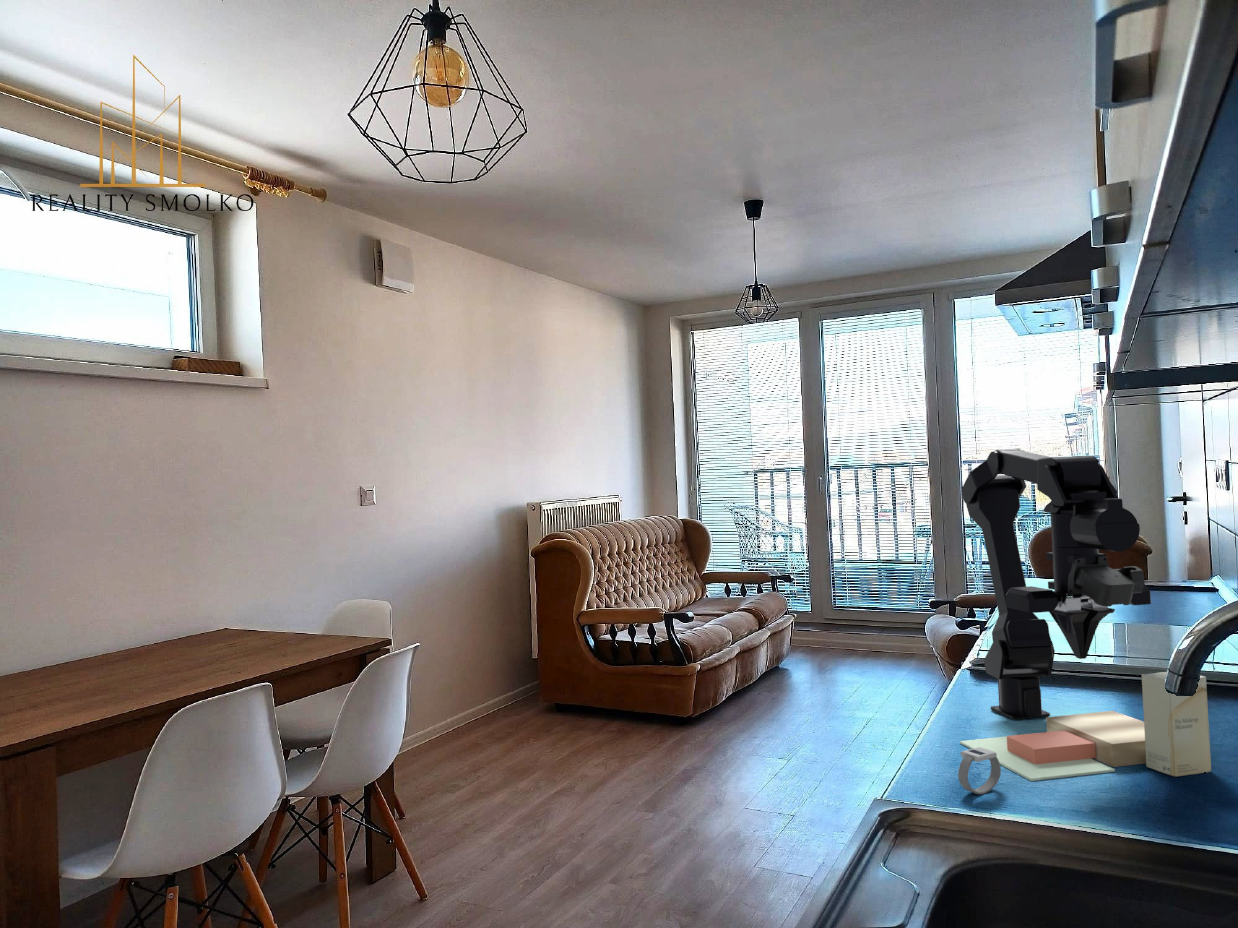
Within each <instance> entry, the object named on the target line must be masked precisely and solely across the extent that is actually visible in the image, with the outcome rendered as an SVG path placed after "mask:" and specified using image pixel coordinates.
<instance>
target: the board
mask: <svg viewBox="0 0 1238 928" xmlns="http://www.w3.org/2000/svg"><path fill="white" fill-rule="evenodd" d="M1045 720H1046V721H1045V722H1046V724H1045V725H1046V732H1053V731H1063V730H1065V731H1068V732H1070V733H1072V734H1075V735H1077V736H1079V737H1082V738H1084V739H1087V740H1089V741H1091V742H1094V743H1095V753H1096V758H1093V760H1095V761H1097V762H1100V763H1102V764H1104V765H1106V766H1109V767H1111V768H1112V767H1113V768H1116V767H1117V768H1118V767H1125V766H1132V765H1134V766H1135V765H1142V764H1143V765H1144V764H1145V765H1146V750H1145V730H1144V720H1140V719H1137V718H1134V717H1131V716H1129V715H1125V714H1124V713H1120V712H1117V711H1115V710H1108V711H1107V710H1106V711H1097V712H1089V713H1087V712H1086V713H1078V714H1068V715H1067V714H1066V715H1056V716H1048V717H1046V718H1045Z"/></svg>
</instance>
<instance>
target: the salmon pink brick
mask: <svg viewBox="0 0 1238 928" xmlns="http://www.w3.org/2000/svg"><path fill="white" fill-rule="evenodd" d="M1006 736H1007V750H1008V751H1010V752H1012V753H1014V754H1016V755H1017V756H1019V757H1021V758H1023V759H1025V760H1027V761H1029V762H1031V763H1033V764H1043V763H1053V762H1062V761H1072V760H1081V759H1094V758H1096V753H1095V743H1094V742H1091V741H1089V740H1087V739H1084V738H1082V737H1079V736H1077V735H1075V734H1072V733H1070V732H1068V731H1065V730H1063V731H1053V732H1047V731H1045V732H1044V731H1043V732H1036V733H1033V732H1032V733H1025V734H1022V733H1021V734H1015V735H1014V734H1013V735H1006Z"/></svg>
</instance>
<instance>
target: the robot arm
mask: <svg viewBox="0 0 1238 928" xmlns="http://www.w3.org/2000/svg"><path fill="white" fill-rule="evenodd" d="M1026 482H1029V483H1034V484H1036V485H1037V486H1036V489H1037V490H1038V491H1039V492H1040V493H1042V494H1043V495H1045V496H1046V497H1048V498H1049V499H1050V501H1049V503H1047V504H1046V505H1045V506H1044V509H1043V512H1044V513H1045V514H1050V515H1049V516H1050V530H1051V533H1050V534H1051V549H1052V551H1050V552H1046V554H1045V555H1046V560H1047V561H1052V570H1053V580H1052V581H1047V588H1043V587H1038V586H1027V583H1026V578H1025V573H1024V569H1023V564H1022V559H1021V556H1020V550H1019V546H1018V541H1017V537H1016V531H1015V526H1014V525H1015V524H1014V522H1015V520H1016V517H1017V515H1018V513H1019V511H1020V508H1021V503H1020V501H1021V500H1020V498H1021V496H1022V495H1023V493H1024V491H1025V490H1026V488H1027V484H1026ZM961 490H962V491H961V495H962V500H963V502H964V503H965V506H966V509H967V512H968V515H969V517H970V518H971V519H972V520H973V522H974V523H975V524H976V525H977V526H978V527H979V528H980V529H981V531H982V535H983V539H984V540H983V541H984V545H985V550H986V556H987V560H988V565H989V569H990V570H989V571H990V575H991V581H992V585H993V591H994V596H995V601H996V605H997V612H998V617H997V619H996V622H995V624H994V626H993V629H992V631H991V638H992V643H991V645H990V647H989V649H988V651H987V653H986V655H985V657H984V659H983V663H984V669H985V673H986V674H988V675H989V676H992V677H994V678H996V679H997V687H998V688H997V691H998V705H993V706H992V705H991V706H990V710H991V711H994V712H995V713H998V714H1000V715H1002V716H1005V717H1007V718H1009V719H1012V720H1017V721H1018V720H1025V719H1026V720H1027V719H1034V718H1035V719H1036V718H1045V717H1051V713H1050V712H1049V711H1046V710H1043V705H1042V690H1041V684H1040V681H1041V680H1040V678H1041V677H1045V678H1051V677H1052V671H1053V667H1054V666H1053V665H1054V659H1055V658H1054V657H1055V652H1056V651H1055V647H1054V643H1053V641H1052V638H1051V633H1050V629H1049V623H1048V621H1047V620H1046V619H1044V618H1039V617H1038V616H1037V615H1036V613H1049V615H1051V617H1052V619H1053V620H1054V621H1055V623H1056V625H1057V627H1058V628H1059V629H1060V630H1061V633H1062V634H1063V636H1064V639H1065V640H1066V642H1067V644H1068V645H1069V647H1070V650H1071V651H1072V653H1073V655H1074V657H1075V658H1076V659H1080V660H1082V659H1083V660H1084V659H1087V657H1088V653H1089V651H1090V649H1091V646H1092V642H1093V639H1094V636H1095V633H1096V631H1097V628H1098V627H1099V625H1100V622H1101V621H1102V620H1103V619H1104V618H1106V616H1108V615H1109V614H1114V613H1115V612H1116V609H1115V608H1112V606H1117V605H1123V606H1129V605H1131V606H1145V605H1151V604H1152V594H1151V593H1152V592H1151V590H1150V588H1148V586H1147V584H1146V583H1145V578H1144V571H1143V569H1142V568H1140V567H1138V566H1136V565H1135V566H1134V565H1132V566H1124V567H1122V568H1112V567H1110V566H1109V563H1108V558H1107V556H1106V553H1100V550H1101V551H1109V552H1110V551H1111V552H1116V553H1117V552H1124V551H1127V550H1129V549H1130V548H1132V547H1133V546H1134V545H1135V544H1136V543H1137V541H1138V540H1139V536H1140V531H1141V530H1140V529H1141V528H1140V523H1138V519H1137V518H1136V516H1135V515H1134V514H1133V513H1132V512H1131V511H1130V510H1128V509H1127V508H1124V507H1123V505H1124V504H1123V499H1122V498H1119V496H1118V494H1117V493H1118V491H1117V489H1116V488H1115V487H1114V485H1113V483H1112V482H1111V481H1110V477H1108V475H1107V473H1106V470H1105V468H1104V467H1103V466H1102V464H1100V460H1099V459H1098V458H1097V457H1095V456H1093V455H1078V456H1076V455H1075V456H1074V455H1073V456H1055V457H1054V456H1053V457H1052V456H1047V455H1042V454H1038V453H1033V452H1029V451H1025V450H1023V449H1020V448H1006V449H1004V448H1003V449H995V450H994V451H991V452H989V455H988V456H987V458H986V460H985V461H983V462H981V464H979V465H978V466H976V467H975V468H974V469H972V470H970V472H969V473H968V476H967V478H966V480H965V482H964V483H963V485H962V489H961Z"/></svg>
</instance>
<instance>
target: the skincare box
mask: <svg viewBox="0 0 1238 928" xmlns="http://www.w3.org/2000/svg"><path fill="white" fill-rule="evenodd" d="M1167 672H1168V671H1160V672H1154V673H1144V674H1142V673H1141V685H1142V686H1141V688H1142V690H1141V691H1142V707H1143V722H1144V730H1145V750H1146V763H1145V766H1146V767H1147V768H1150V769H1152V770H1155V771H1156V772H1159V773H1163V774H1165V775H1168V776H1171V777H1183V776H1191V775H1198V774H1204V772H1206V773H1209V772H1212V763H1211V762H1212V761H1211V758H1212V757H1211V741H1210V724H1209V708H1208V691H1207V690H1208V689H1207V677H1206V676H1205V675H1200V680H1199V682H1198V687H1197V689H1196V693H1195V694H1194V695H1193V696H1176V695H1175V694H1171V693H1168V692H1167V691H1166V689H1165V678H1166V676H1167Z"/></svg>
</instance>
